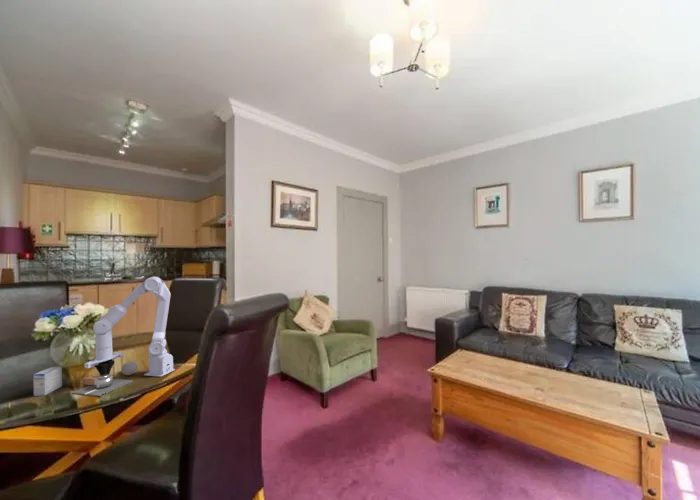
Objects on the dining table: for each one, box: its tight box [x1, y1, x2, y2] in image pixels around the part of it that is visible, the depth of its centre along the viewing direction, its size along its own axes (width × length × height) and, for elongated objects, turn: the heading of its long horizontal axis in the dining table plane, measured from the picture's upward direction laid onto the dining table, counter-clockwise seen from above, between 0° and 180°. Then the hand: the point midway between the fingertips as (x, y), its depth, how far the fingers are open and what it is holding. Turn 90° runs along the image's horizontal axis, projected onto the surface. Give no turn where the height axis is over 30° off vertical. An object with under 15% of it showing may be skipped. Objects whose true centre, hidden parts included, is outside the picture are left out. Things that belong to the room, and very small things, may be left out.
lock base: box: [71, 378, 134, 397], centre depth 127 cm, size 14×14×1 cm
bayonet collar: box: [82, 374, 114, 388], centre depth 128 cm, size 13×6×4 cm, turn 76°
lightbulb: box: [121, 360, 139, 376], centre depth 142 cm, size 6×6×11 cm
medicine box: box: [32, 366, 63, 397], centre depth 125 cm, size 8×4×9 cm, turn 5°
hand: (105, 378), depth 132 cm, fingers closed
